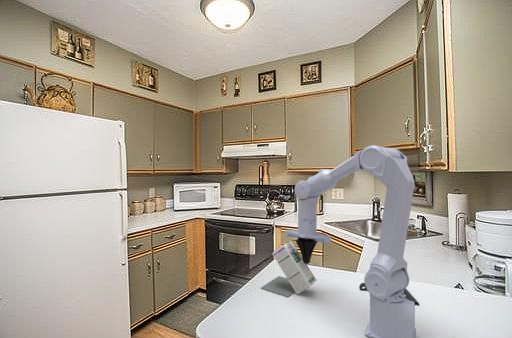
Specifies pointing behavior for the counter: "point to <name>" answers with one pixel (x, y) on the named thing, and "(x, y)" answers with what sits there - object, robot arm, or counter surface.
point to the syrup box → (294, 267)
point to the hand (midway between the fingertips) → (306, 262)
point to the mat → (279, 286)
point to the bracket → (406, 293)
